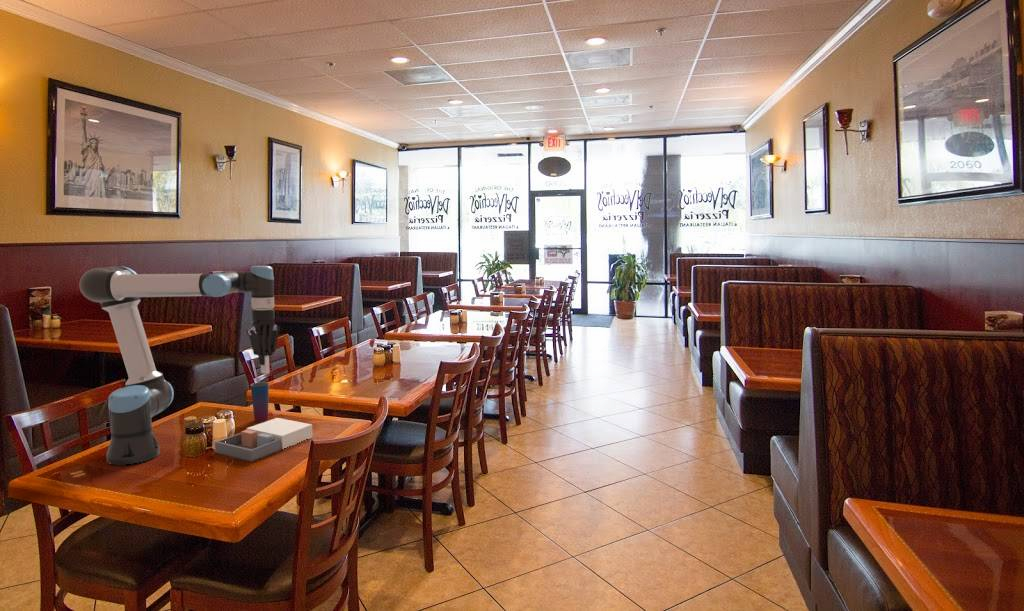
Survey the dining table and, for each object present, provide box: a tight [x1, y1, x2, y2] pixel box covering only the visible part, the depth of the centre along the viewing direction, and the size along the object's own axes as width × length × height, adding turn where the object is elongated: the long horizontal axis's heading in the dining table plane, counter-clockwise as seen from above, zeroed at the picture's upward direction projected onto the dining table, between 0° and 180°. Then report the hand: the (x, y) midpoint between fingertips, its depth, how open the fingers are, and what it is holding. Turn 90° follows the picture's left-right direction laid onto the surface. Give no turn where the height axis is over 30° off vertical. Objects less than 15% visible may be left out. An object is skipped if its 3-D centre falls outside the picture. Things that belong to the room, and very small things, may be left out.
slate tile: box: [257, 433, 273, 447], centre depth 205 cm, size 5×5×2 cm
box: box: [214, 432, 282, 463], centre depth 203 cm, size 18×12×4 cm, turn 64°
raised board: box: [246, 417, 314, 450], centre depth 216 cm, size 18×14×5 cm
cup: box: [250, 381, 270, 422], centre depth 238 cm, size 7×7×15 cm
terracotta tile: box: [240, 429, 257, 447], centre depth 208 cm, size 5×5×2 cm
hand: (265, 373), depth 213 cm, fingers closed
